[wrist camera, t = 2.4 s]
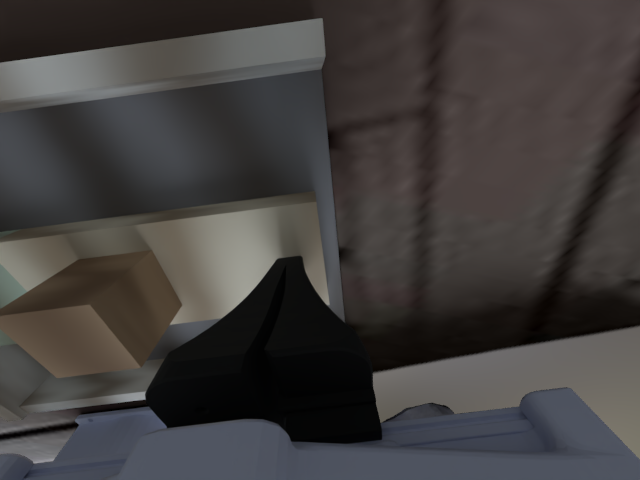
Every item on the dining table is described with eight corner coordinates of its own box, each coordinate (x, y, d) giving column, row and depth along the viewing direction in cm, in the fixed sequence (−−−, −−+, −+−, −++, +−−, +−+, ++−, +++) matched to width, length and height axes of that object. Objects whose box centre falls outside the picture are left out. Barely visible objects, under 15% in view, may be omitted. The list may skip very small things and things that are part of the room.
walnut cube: (118, 312, 14) (56, 378, 11) (78, 259, 12) (-14, 317, 9) (182, 305, 14) (141, 367, 11) (151, 250, 12) (89, 304, 9)
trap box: (51, 376, 20) (7, 421, 17) (-247, 120, 10) (-468, 123, 7) (346, 340, 20) (353, 379, 17) (318, 43, 10) (323, 13, 7)
